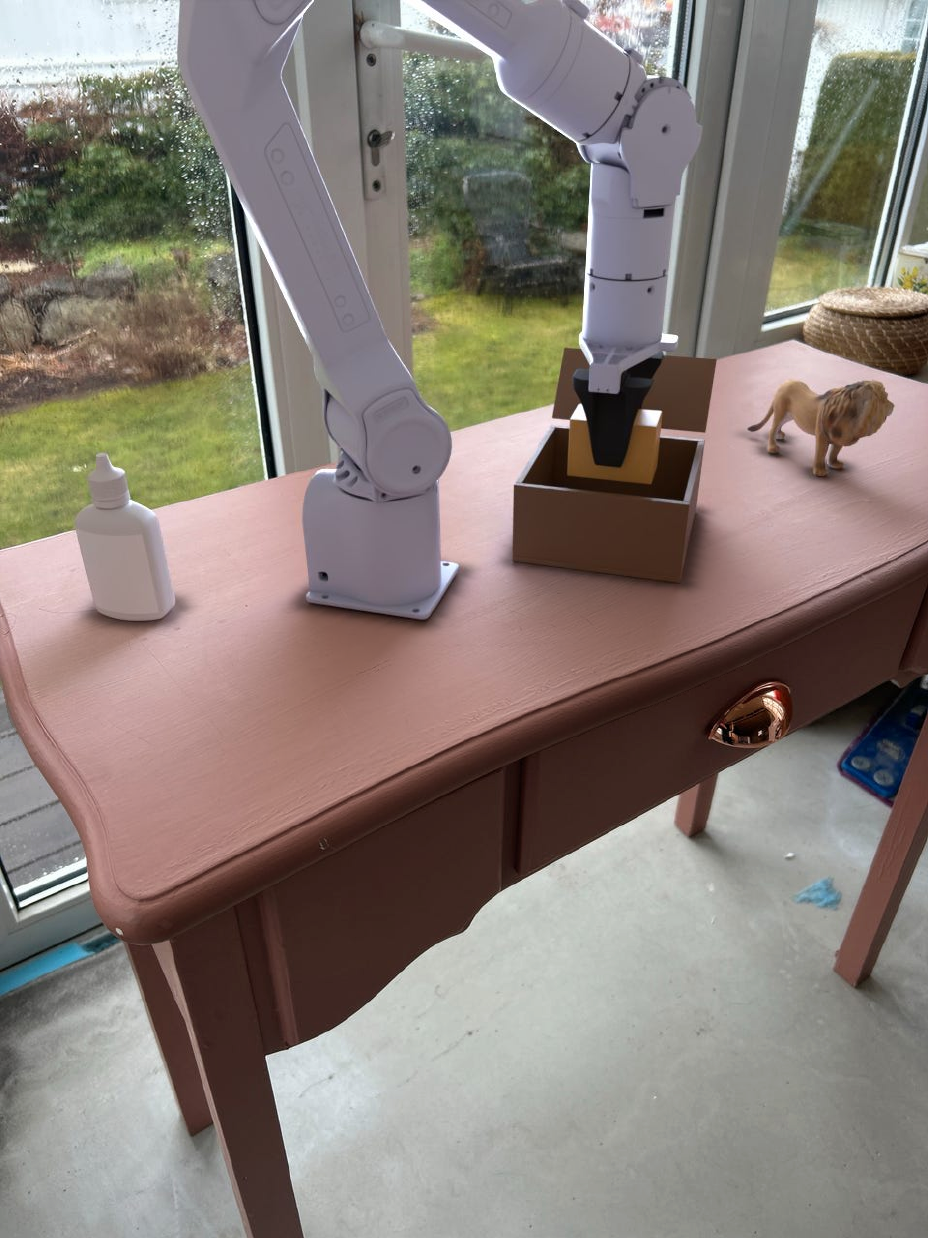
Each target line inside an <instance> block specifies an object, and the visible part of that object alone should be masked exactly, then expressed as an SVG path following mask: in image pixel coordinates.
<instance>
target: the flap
mask: <svg viewBox="0 0 928 1238" xmlns="http://www.w3.org/2000/svg"><path fill="white" fill-rule="evenodd" d="M561 358H562V359H561V362H560V369H559V375H558V379H557V386H556V392H555V397H554V402H553V408H552V415H551V419H553V420H554V419H555V420H565V421H570V419H571V417H572V415H573V414H574V412H575V410H576V408H577V407H578V405H579V404H581V402H580V400H579V398H578V396H577V394H576V392H575V390H574V387H573V375H574V373H575V372H576V370H577V369H588V370H590V365H589V362H588V361H587V359H586V357H585V355H584V353H583V352H582V350H581V348H573V347H563V352H562V357H561ZM717 362H718V359H717V358H711V357H709V358H707V357H696V356H682V355H669V354H668V355H667V354H664V356H663V360H662V363H661V365H660V366H659V368H658V369H657V371H656V373H655V374H654V376H653V378H652V379H654V382H653V384H652V387H651V389H650V390H649V392H648V394H647V395H646V397H645V398H644V401H643V404H642V408H641V409H644V410H655V411H662V412H663V414H662V424H661V430H673V431H683V432H691V433H702V434H705V433H706V432H707V425H708V419H709V412H710V406H711V399H712V393H713V386H714V381H715V373H716V367H717Z"/></svg>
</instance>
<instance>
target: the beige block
mask: <svg viewBox="0 0 928 1238" xmlns="http://www.w3.org/2000/svg"><path fill="white" fill-rule="evenodd" d="M662 414H663V412H662V411H655V410H644V409H639V410H638V412H637V416H636V419H635V422H634V426H633V430H632V434H631V438H630V443H629V447H628V450H627V454H626V457H625V459H624V462H623V464H622V467H620V468H619V467H609V466H600V465H595V463H594V460H593V455H592V450H591V443H590V436H589V430H588V424H587V420H586V416H585V413H584V410H583V407H582V404H579V405H578V407H577V408H576V410H575V412H574V414H573V415H572V417H571V419H570V420H569V427H570V428H569V448H568V469H567V475H568V476H577V477H586V478H595V479H605V480H614V481H623V482H632V483H642V484H651V483H652V480H653V477H654V474H655V471H656V468H657V463H658V453H659V443H660V436H661V432H662V429H661V424H662Z"/></svg>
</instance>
